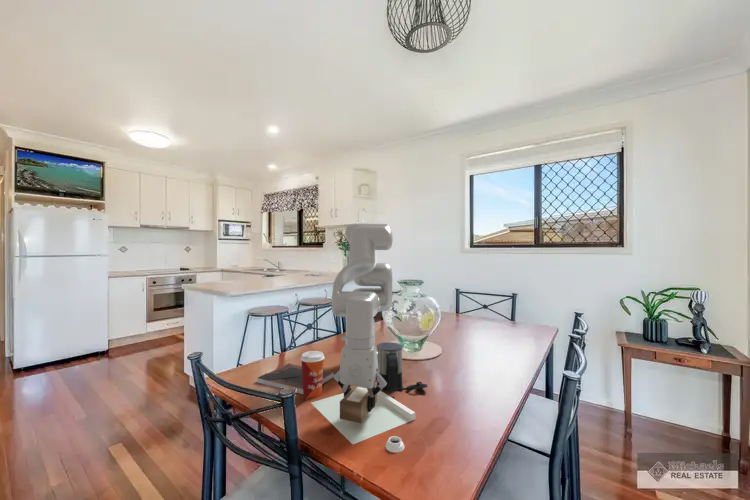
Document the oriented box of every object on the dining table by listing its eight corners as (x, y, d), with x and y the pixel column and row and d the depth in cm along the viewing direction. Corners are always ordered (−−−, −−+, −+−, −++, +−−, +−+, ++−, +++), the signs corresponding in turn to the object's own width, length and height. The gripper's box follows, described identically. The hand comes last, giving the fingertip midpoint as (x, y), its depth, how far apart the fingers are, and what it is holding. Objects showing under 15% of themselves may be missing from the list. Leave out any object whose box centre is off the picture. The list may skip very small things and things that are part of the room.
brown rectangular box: (357, 397, 93) (357, 381, 93) (377, 401, 91) (377, 385, 91) (339, 418, 82) (339, 401, 82) (361, 423, 80) (361, 405, 80)
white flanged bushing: (388, 443, 78) (381, 456, 73) (388, 431, 78) (381, 443, 73) (407, 448, 76) (402, 461, 71) (407, 436, 76) (402, 448, 71)
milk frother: (372, 385, 111) (372, 343, 111) (411, 378, 117) (411, 338, 117) (389, 403, 98) (389, 355, 98) (432, 394, 104) (432, 349, 104)
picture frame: (257, 384, 113) (305, 396, 104) (257, 377, 113) (305, 389, 104) (288, 368, 128) (333, 378, 118) (288, 362, 128) (333, 371, 118)
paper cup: (313, 405, 97) (313, 359, 97) (295, 399, 101) (295, 355, 101) (329, 395, 103) (329, 352, 103) (312, 389, 107) (312, 348, 107)
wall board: (365, 390, 107) (365, 374, 107) (415, 423, 87) (415, 404, 87) (310, 406, 96) (310, 389, 96) (352, 449, 75) (352, 427, 75)
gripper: (324, 342, 85) (324, 408, 86) (385, 350, 80) (384, 420, 80) (337, 334, 92) (337, 395, 93) (393, 341, 87) (393, 406, 87)
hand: (359, 406), depth 86 cm, fingers closed on brown rectangular box, 6 cm apart
